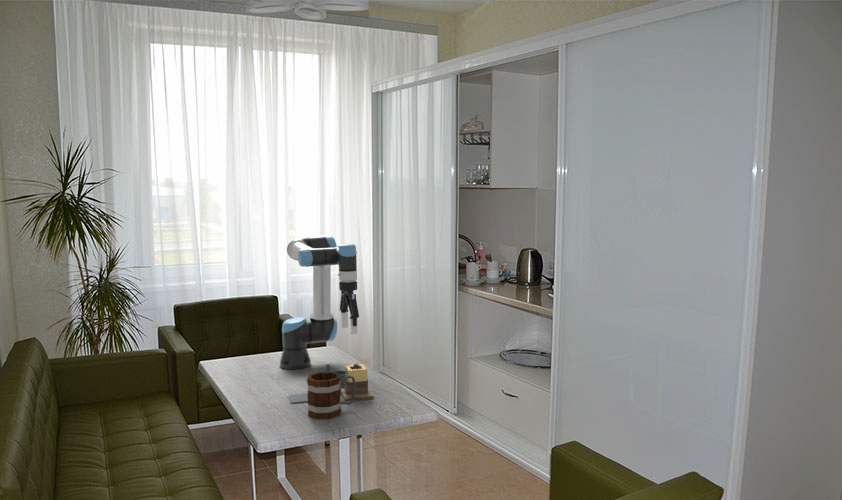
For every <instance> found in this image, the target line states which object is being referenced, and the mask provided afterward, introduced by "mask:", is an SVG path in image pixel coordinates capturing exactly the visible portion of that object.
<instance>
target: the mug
mask: <svg viewBox="0 0 842 500" xmlns="http://www.w3.org/2000/svg"><path fill="white" fill-rule="evenodd" d="M340 375H341V374H338V373H335V372H331V371H330V372H326V371H318V372H314V373H310V374H308V376H307V377H306V382H307V393H308V402H307V404H308V406H307V407H308V411H307V416H308V417H309V418H312V419H315V420H331V419H334V418H337V417H340V416H341V413H342V408H341V405H347V406H350V405H351V404H353V403H354V399H355V384H356V382H355V379H354V377H353V376H349V375H348V376H346V377H345V378H344V379H343V380H342V381H340ZM349 378H352V381H353V384H352V398H351V401H345V400H341V395H342V394H341V387H340V385H341V384H344V383H345V382H346V380H347V379H349Z"/></svg>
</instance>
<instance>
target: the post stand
mask: <svg viewBox="0 0 842 500" xmlns="http://www.w3.org/2000/svg"><path fill="white" fill-rule="evenodd" d="M353 365H354V369H358V365H359V363H356V364H355V363H354V364H353ZM352 384H353V382H348V381H347V380H346V382H345V386H344V387H343V388H342V387H340V389H341V395H342V397H343V401H346V402H349V401H351V398H352ZM374 398H375V395H374V394H373V393H372V390H371V389H370V388H369V380H368V378H367V381H360V382H356V384H355V399H354V401H355V402H356V401H363V400H373V399H374Z"/></svg>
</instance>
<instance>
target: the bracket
mask: <svg viewBox="0 0 842 500" xmlns="http://www.w3.org/2000/svg"><path fill="white" fill-rule="evenodd" d="M349 365H350V364H345V366H349ZM330 368H331V364H328V363H327V364H325V372H335V373H338V374H341V375H340V381H342V380H343V379H344V378H345V370H340V369H339V370H332V371H331V369H330ZM342 387H345V383H344V384H341V385H340V388H342Z"/></svg>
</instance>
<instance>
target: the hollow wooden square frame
mask: <svg viewBox="0 0 842 500" xmlns="http://www.w3.org/2000/svg"><path fill="white" fill-rule="evenodd" d="M348 365H349V366H346V365H344V366H345V367H344V371H345V377H346V376H348V375H349V376H353V377H354V379H355V382H360V381H367V379H368V369H367V367H366V366H365V364H364V363H362V364H358V369H354V364H351V365H350V364H348ZM347 381H348V382H353V381H352V378H349V379H347Z"/></svg>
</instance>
